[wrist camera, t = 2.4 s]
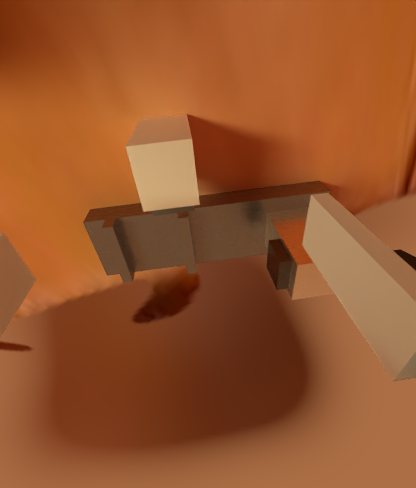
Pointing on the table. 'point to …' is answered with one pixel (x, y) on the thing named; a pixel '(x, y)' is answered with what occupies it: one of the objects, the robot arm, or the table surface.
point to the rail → (215, 235)
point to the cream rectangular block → (164, 164)
